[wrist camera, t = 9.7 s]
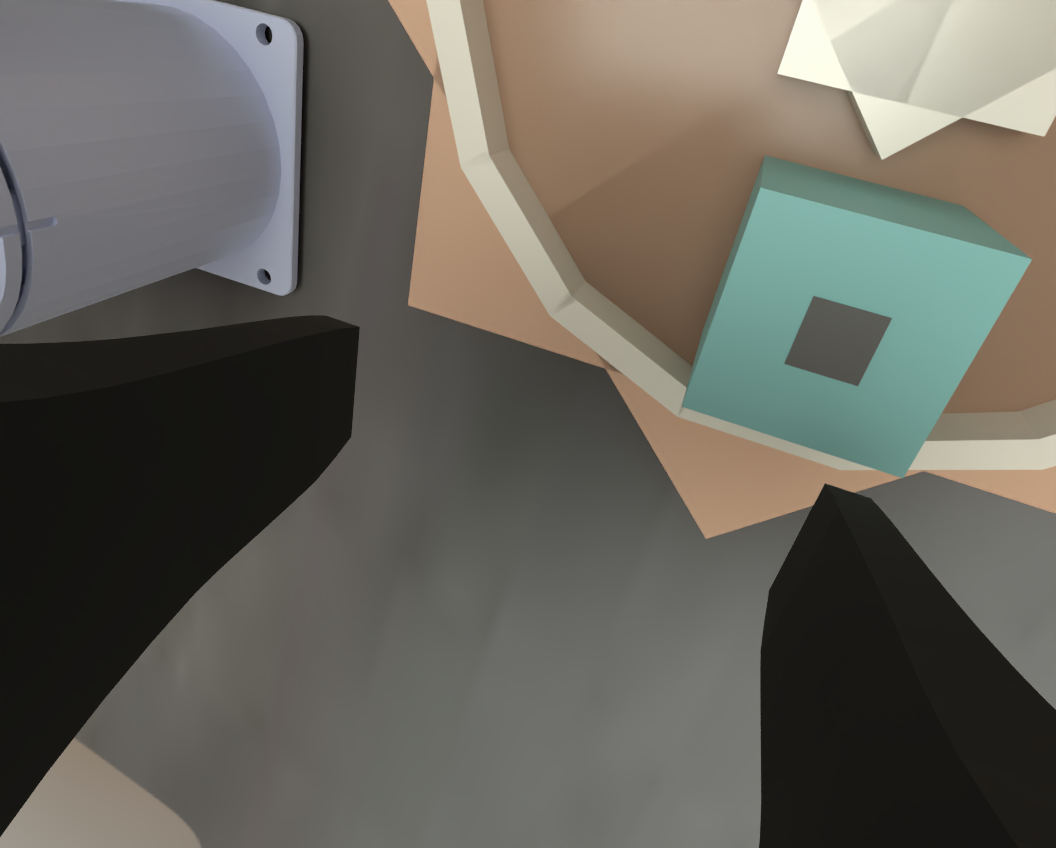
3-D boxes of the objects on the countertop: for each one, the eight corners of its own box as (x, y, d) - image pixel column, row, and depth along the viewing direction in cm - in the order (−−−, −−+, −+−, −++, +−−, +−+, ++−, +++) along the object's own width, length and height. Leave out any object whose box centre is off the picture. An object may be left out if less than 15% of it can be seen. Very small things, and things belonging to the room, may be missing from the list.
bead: (703, 328, 19) (681, 407, 14) (764, 155, 16) (760, 187, 12) (873, 380, 18) (903, 478, 14) (963, 205, 16) (1032, 259, 11)
